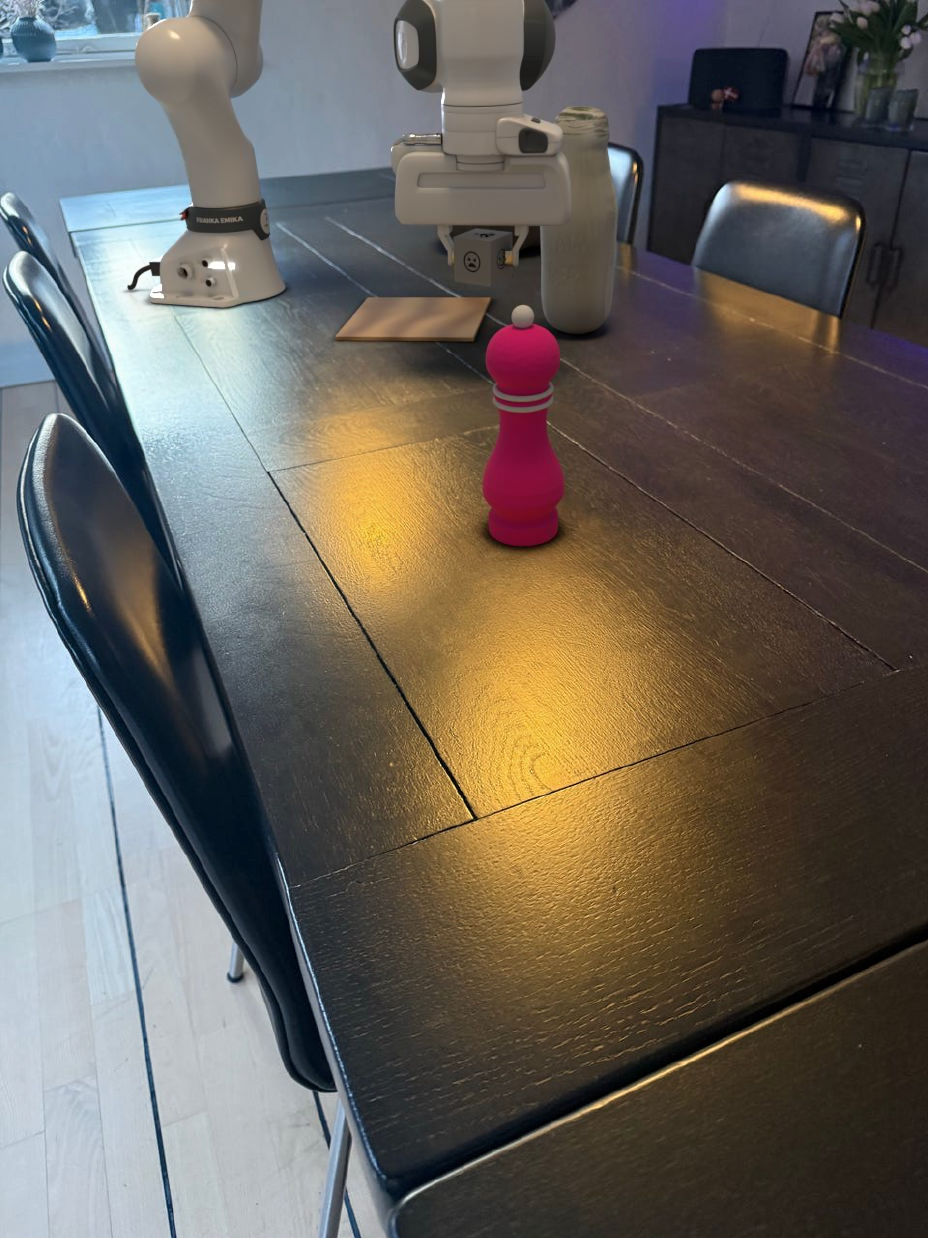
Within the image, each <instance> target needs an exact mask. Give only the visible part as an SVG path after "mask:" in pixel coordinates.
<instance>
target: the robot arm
mask: <svg viewBox="0 0 928 1238" xmlns="http://www.w3.org/2000/svg"><path fill="white" fill-rule="evenodd" d="M263 2H264V0H191V3H190V9H189V12H188V13H187V15H186V16H179V17H167V18H164V19H162V20H160V21H158V22H156V23H154V24H153V25H152V26H150V27H148V28H147V29H145V30H144V31H143V32H142V33H141V35H140V36H139V37H138V39H137V42H136V44H135V48H134V64H135V65H134V66H135V71H136V74H137V76H138V79H139V80H140V82H141V84H142V86H143V88H144V89H145V90H146V92H147V93H148V94H149V95H150V96H151V97H152V98H153V99H154V100H155V101H156V102H157V103H158V104H159V107H161V109H162V111H163V112H164V115H165V116H166V119H167V121H168V123H169V125H170V127H171V129H172V132H173V134H174V137H175V139H176V141H177V145H178V147H179V150H180V154H181V157H182V160H183V166H184V170H185V175H186V180H187V184H188V189H189V194H190V198H191V203H190V204H189V205H188V206H187V207H186V208H184V209H183V211H181V212H180V213H179V214H178V215H179V216H181V217H180V221H184V222H185V225H186V229H185V231H184V232H183V233H182V234H181V235H180V236H179V238H178V239H177V240H176V241H175V242H174V243H173V244H172V245H171V247H169V248H168V249H167V251H166V252H165V253H164V254H162V255H160V256H158V257H156V258H154V259H152V260H150V261H149V262H148V264H147V265H143V267H141V268H139V269H138V270H137V271H136V272H134V275H133V278H132V282H131V283H130V284H127V286H126V289H127V290H128V291H133V290H135V289H136V287H137V285H138V282H139V279H140V277H141V276H142V275H143V274H145V273H146V272H148V271H150V273H151V276H152V277H159V280H160V281H159V282H160V284H159V285H157V286H155V287H154V288H153V289H152V290H151V291H150V293H149V300H150V302H151V303H152V304H165V305H178V306H179V305H180V306H181V305H182V306H195V307H208V308H209V307H210V308H231V307H234V306H238V305H240V304H245V303H250V302H255V301H256V302H257V301H260V300H261V301H262V300H265V299H269V298H272V297H274V296H277V295H279V294H281V293H282V292H284V291H285V290H286V284H285V282H284V279H283V277H282V275H281V272H280V270H279V267H278V265H277V261H276V258H275V255H274V250H273V247H272V243H271V242H272V241H271V239H270V236H271V225H270V217H269V213H268V212H269V211H268V210H267V205H266V199H265V198H264V197H263V196H262V189H261V183H260V177H259V171H258V164H257V156H256V152H255V151H256V150H255V147H254V144H253V142H252V141H251V139H250V138H249V137H248V136H247V135H246V134H245V133H244V131H243V129H242V127H241V125H240V123H239V120H238V117H237V115H236V112H235V110H234V107H233V104H232V99H235V98H238V97H240V96H242V95H244V94H245V93H247V92H248V91H249V90H250V89H251V88H252V87H254V85H255V84H256V83H257V82H258V81H259V79H260V78H261V75H262V73H263V69H264V52H263V48H262V45H261V42H260V37H261V22H262V10H263ZM556 36H557V35H556V26H555V21H554V18H553V15H552V12H551V9H550V8H549V6H548V3H547V2H546V1H545V0H405V1H404V2H403V4H402V5H401V7H400V9H399V11H398V12H397V14H396V16H395V18H394V21H393V53H394V59H395V65H396V68H397V70H398V71H399V73H400V74H401V76H402V77H403V78H404V80H405V81H406V82H407V83H408V84H409V85H410V86H411V87H412V88H414V89H415V90H416V91H421V92H424V93H428V94H429V93H430V94H437V93H442V96H441V101H440V103H441V104H440V107H441V109H440V110H441V132H432V133H431V132H429V133H422V134H420V133H419V134H418V133H417V134H416V133H410V132H409V133H404V134H403V135H402V137H399V138H398V139H396V140H395V141H394V143H393V144H392V147H391V149H390V158H391V159H390V160H391V161H390V162H391V169H392V172H393V174H394V175H395V176H396V177H395V187H394V188H395V190H394V213H395V214H394V215H395V217H396V219H397V220H398V221H399V223H400V224H401V225H403V226H436V227H437V229H436V230H437V236H438V239H439V240H440V242H441V244H442V245H443V247H444V248H445V250H446V251H447V264H448V265H447V266H450V267H451V266H452V267H454V242H453V239H452V238H451V237H450V235H449V234H450V232H451V231H452V225H486V226H515V235H516V236H519V235H520V236H519V238H518V240H517V242H516V243H515V245H514V247H513V248H509V249H507V250H505V258H506V260H505V266H512V267H519V263H520V261H519V260H520V258H519V257H520V251H519V249H520V247H521V245H522V244H523V242H524V240H525V238H526V236H527V234H528V229H529V226H563V225H565V224H566V223H567V222H568V220H569V219H570V218H571V214H572V188H571V177H570V169H569V164H568V161H567V159H566V157H565V155H564V154H563V153H562V152H561V151H559V150H560V149H561V147H562V144H563V131H562V129H561V127H559V126H558V125H555V124H554V122H550V121H547V120H543V119H541V118H538V117H536V116H533V115H530V114H527V113H524V93H523V92H527V91H528V90H530V89H531V88H532V87H533V86H534V85H535V84H536V83H537V82H538V81H539V80H540V78H541V77H542V76H543V75H544V74H545V72H546V70H547V69H548V67H549V65H550V63H551V61H552V59H553V56H554V53H555V49H556V40H557V39H556ZM401 143H403V144H401Z"/></svg>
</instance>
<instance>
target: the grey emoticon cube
mask: <svg viewBox="0 0 928 1238" xmlns="http://www.w3.org/2000/svg"><path fill="white" fill-rule="evenodd" d="M512 235H513V232H504V231H495V230H486V229H477V228H476V229H473V230H471V231H468V232H465V233H463V234H460V235H457V236H455V237H453V239H452V241H453V243H454V265H453V271H454V272H453V275H454V282H455V283H461V284H468V285H474V286H480V287H487V288H491V287H494V286H496V285H498V284H500V283H502V282H505V281H506V280H509V279H511V278H513V266H505V260H506V258H505V250H507V249H509V248H512Z"/></svg>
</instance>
